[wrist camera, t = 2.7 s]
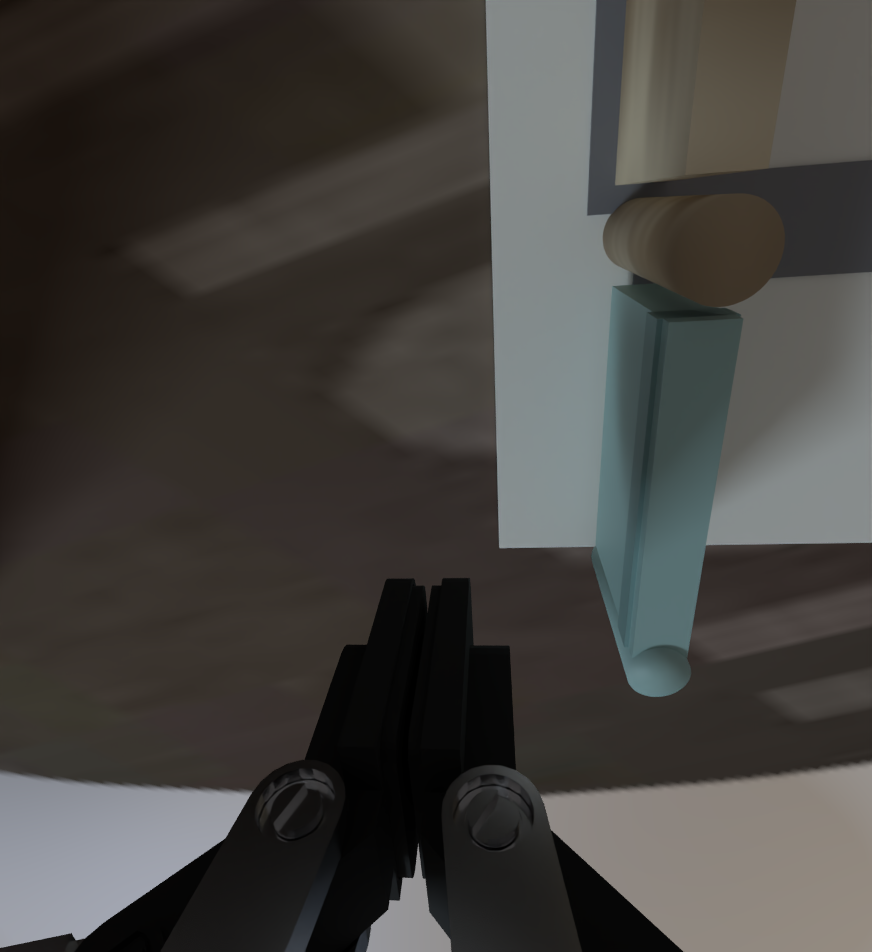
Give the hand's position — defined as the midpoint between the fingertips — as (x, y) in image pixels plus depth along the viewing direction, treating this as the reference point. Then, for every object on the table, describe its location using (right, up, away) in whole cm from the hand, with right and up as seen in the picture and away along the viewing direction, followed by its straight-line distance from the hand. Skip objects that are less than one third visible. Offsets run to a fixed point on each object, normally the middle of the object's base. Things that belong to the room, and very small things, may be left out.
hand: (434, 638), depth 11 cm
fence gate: (+5, +4, +4) cm, 8 cm away
